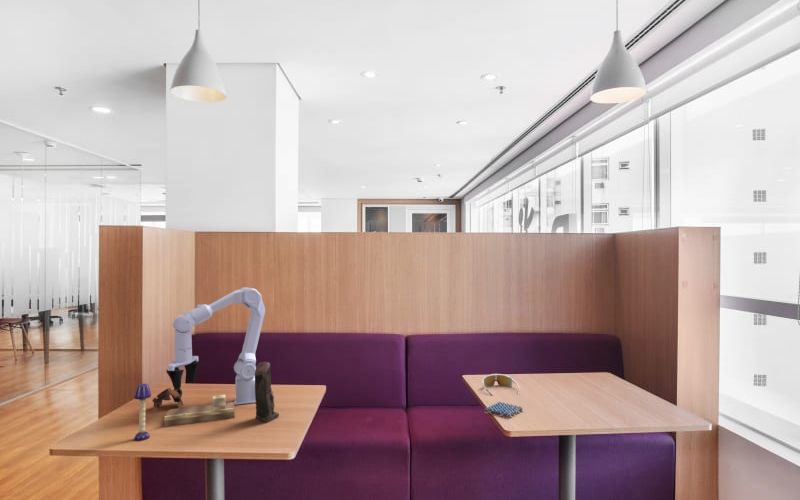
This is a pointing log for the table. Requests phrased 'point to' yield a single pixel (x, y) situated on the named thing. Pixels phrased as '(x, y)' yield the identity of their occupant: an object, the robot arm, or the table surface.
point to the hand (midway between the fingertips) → (184, 385)
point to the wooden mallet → (219, 402)
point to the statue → (264, 393)
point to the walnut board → (198, 414)
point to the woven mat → (503, 410)
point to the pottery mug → (166, 396)
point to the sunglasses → (500, 379)
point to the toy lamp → (142, 410)
